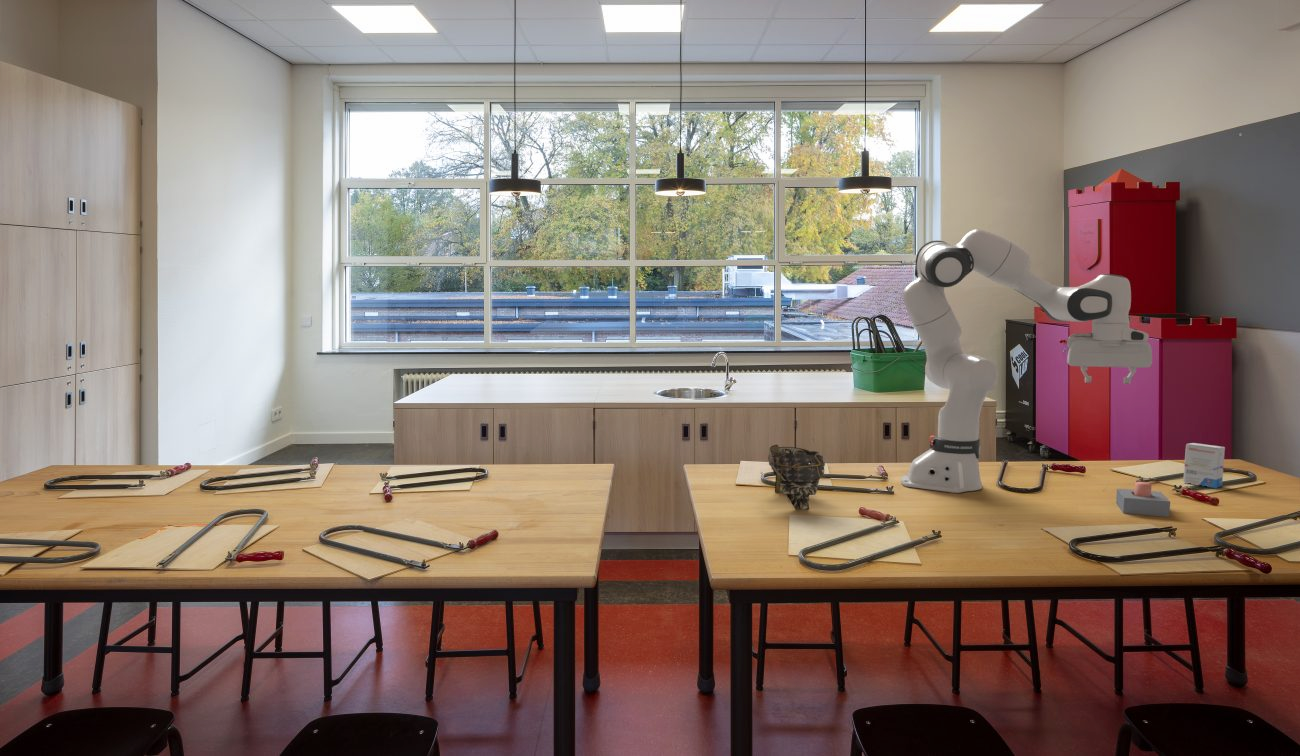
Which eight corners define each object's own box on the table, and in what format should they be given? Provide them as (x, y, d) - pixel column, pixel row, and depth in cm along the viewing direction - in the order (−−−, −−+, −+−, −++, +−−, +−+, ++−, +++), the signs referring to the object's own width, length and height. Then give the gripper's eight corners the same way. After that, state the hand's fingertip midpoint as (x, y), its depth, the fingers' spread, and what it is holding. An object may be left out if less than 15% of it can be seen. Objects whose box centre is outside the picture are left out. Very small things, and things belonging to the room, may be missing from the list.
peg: (1134, 510, 199) (1136, 484, 198) (1132, 507, 202) (1133, 481, 201) (1151, 512, 197) (1153, 485, 196) (1148, 508, 201) (1149, 482, 200)
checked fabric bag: (760, 493, 223) (762, 442, 222) (812, 494, 223) (814, 443, 222) (775, 510, 200) (777, 453, 200) (833, 511, 201) (835, 454, 200)
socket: (1123, 513, 197) (1124, 497, 196) (1116, 502, 206) (1116, 488, 205) (1169, 516, 193) (1170, 501, 193) (1159, 506, 202) (1160, 491, 202)
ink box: (1223, 486, 222) (1226, 446, 221) (1216, 488, 219) (1219, 448, 218) (1189, 480, 229) (1192, 441, 228) (1182, 482, 226) (1185, 443, 225)
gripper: (1069, 333, 213) (1066, 383, 214) (1155, 334, 205) (1152, 385, 207) (1066, 332, 218) (1063, 380, 220) (1150, 333, 211) (1146, 383, 212)
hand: (1107, 383), depth 213 cm, fingers open, 8 cm apart
